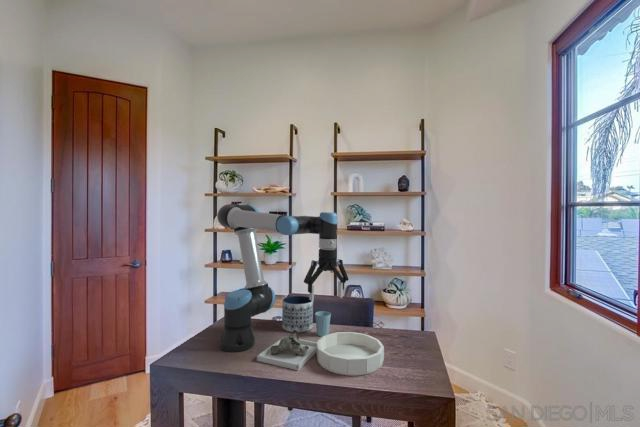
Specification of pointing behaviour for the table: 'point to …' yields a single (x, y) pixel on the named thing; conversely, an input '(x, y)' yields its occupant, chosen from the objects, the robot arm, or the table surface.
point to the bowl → (350, 353)
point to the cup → (322, 322)
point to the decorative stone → (290, 345)
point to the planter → (297, 313)
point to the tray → (288, 356)
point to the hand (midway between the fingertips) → (326, 298)
